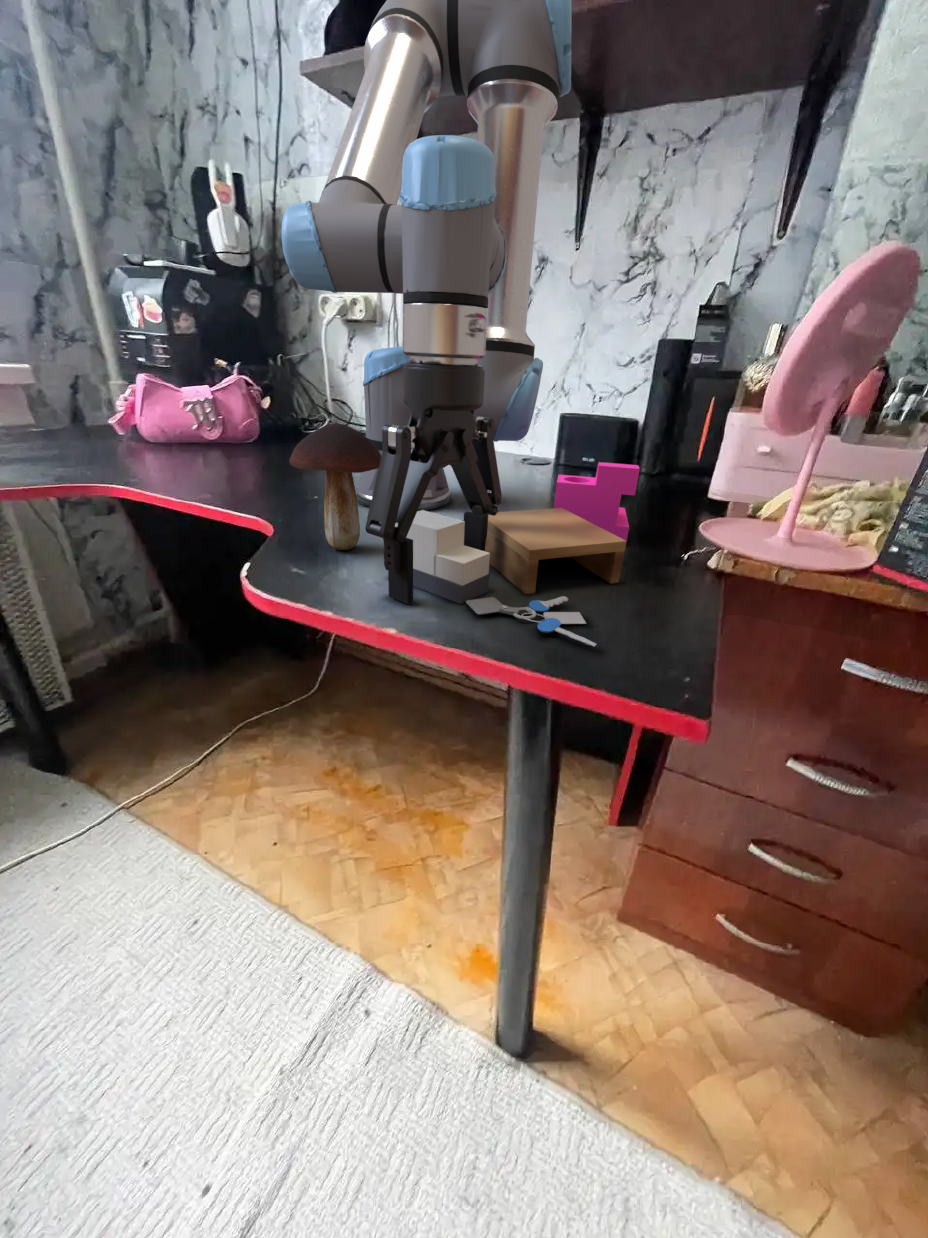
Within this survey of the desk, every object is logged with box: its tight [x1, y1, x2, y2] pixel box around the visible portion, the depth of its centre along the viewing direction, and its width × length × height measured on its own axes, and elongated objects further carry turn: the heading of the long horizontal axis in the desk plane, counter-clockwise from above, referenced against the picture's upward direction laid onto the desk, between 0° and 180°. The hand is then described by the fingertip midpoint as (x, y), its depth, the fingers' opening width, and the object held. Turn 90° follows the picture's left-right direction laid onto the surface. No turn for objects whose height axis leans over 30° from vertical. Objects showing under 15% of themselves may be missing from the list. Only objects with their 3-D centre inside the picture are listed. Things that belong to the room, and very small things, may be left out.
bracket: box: [553, 461, 641, 543], centre depth 78 cm, size 12×10×10 cm
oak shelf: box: [485, 507, 627, 595], centre depth 65 cm, size 14×12×5 cm
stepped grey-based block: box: [395, 510, 490, 605], centre depth 58 cm, size 10×5×7 cm, turn 51°
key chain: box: [465, 595, 597, 648], centre depth 53 cm, size 14×8×1 cm, turn 60°
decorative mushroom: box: [288, 422, 381, 551], centre depth 65 cm, size 11×11×15 cm
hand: (439, 583), depth 60 cm, fingers open, 11 cm apart
